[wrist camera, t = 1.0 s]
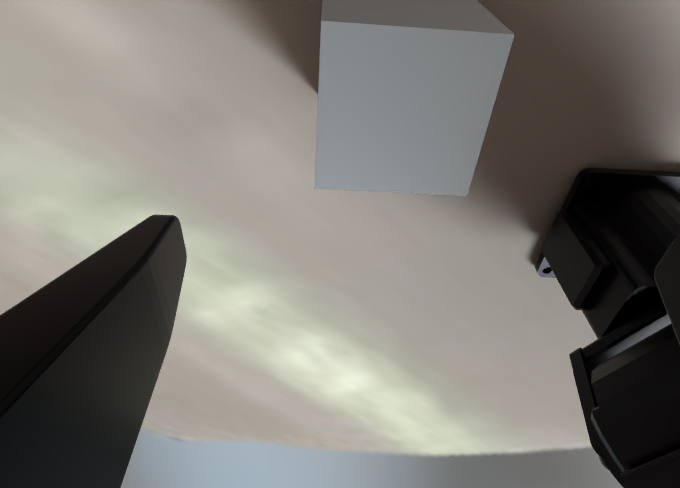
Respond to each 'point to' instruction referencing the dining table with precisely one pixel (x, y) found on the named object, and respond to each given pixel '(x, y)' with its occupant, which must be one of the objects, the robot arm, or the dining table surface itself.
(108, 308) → the robot arm
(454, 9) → the grey rectangular box
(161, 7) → the dining table surface
